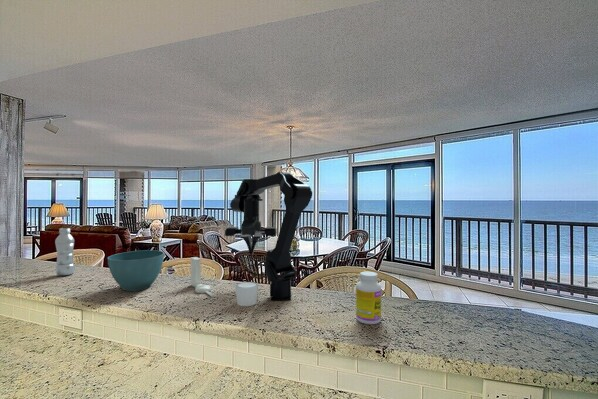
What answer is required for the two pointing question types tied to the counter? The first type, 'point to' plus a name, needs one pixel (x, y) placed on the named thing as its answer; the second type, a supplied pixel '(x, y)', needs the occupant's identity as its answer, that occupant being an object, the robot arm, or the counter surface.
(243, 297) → the white cup
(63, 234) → the plastic bottle
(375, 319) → the supplement bottle
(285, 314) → the counter surface
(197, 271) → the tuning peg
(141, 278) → the teal bowl
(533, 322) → the counter surface
